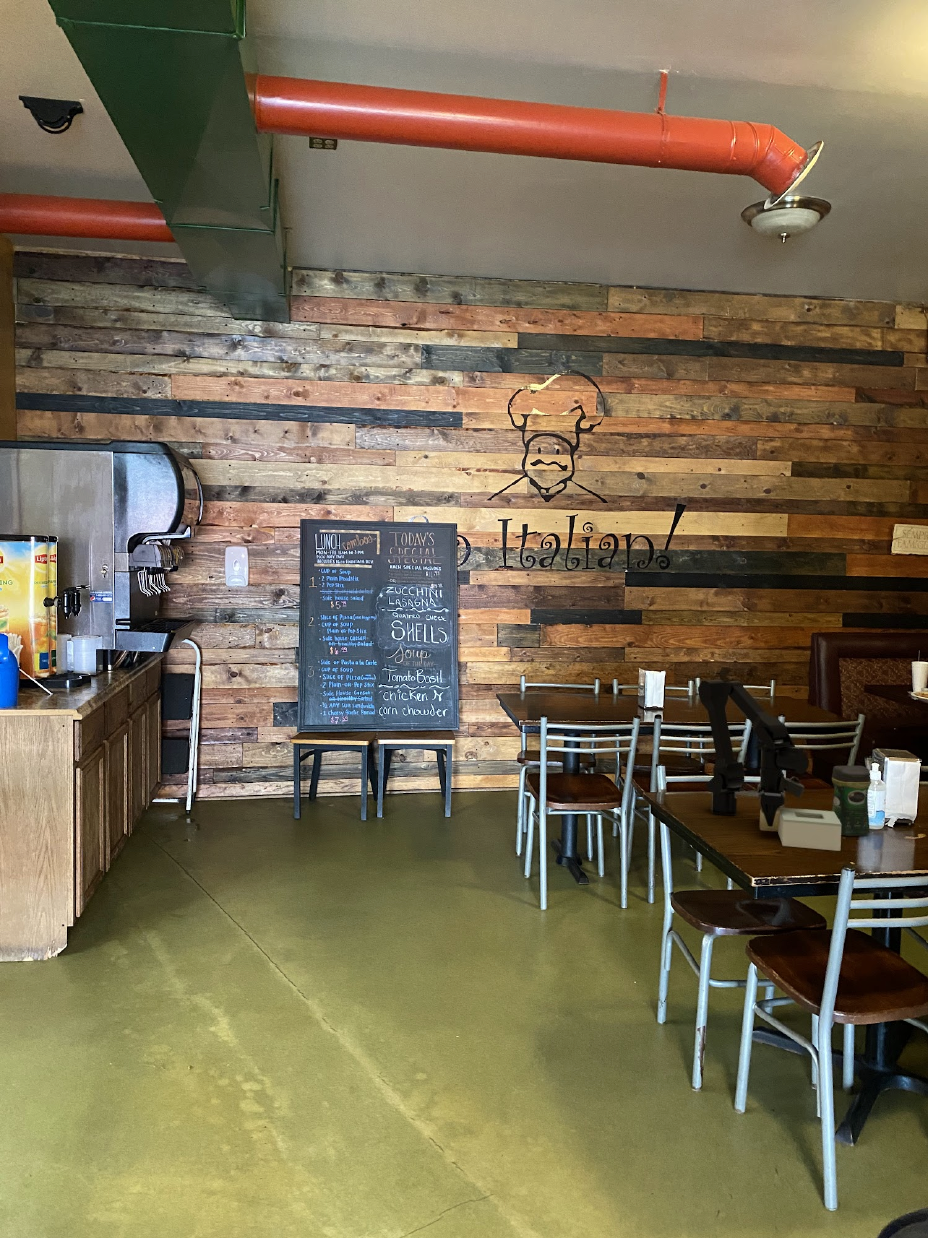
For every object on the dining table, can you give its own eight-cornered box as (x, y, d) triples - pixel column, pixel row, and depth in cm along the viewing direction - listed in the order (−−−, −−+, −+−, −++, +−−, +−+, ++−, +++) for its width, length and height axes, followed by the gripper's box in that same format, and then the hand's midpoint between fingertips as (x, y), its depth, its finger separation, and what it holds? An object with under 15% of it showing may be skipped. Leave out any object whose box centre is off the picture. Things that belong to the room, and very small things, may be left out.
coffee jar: (859, 828, 244) (862, 763, 243) (873, 837, 236) (876, 769, 235) (825, 828, 244) (828, 762, 243) (838, 836, 236) (840, 769, 235)
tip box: (782, 845, 228) (783, 819, 227) (778, 832, 239) (779, 807, 239) (840, 851, 224) (841, 824, 224) (832, 837, 236) (834, 811, 235)
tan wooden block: (760, 830, 241) (761, 812, 241) (759, 827, 244) (760, 809, 244) (779, 831, 240) (780, 813, 240) (778, 828, 243) (779, 811, 243)
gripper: (805, 775, 230) (803, 834, 230) (800, 765, 248) (797, 820, 248) (761, 771, 233) (759, 830, 233) (758, 762, 251) (756, 816, 251)
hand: (769, 824), depth 241 cm, fingers open, 5 cm apart
